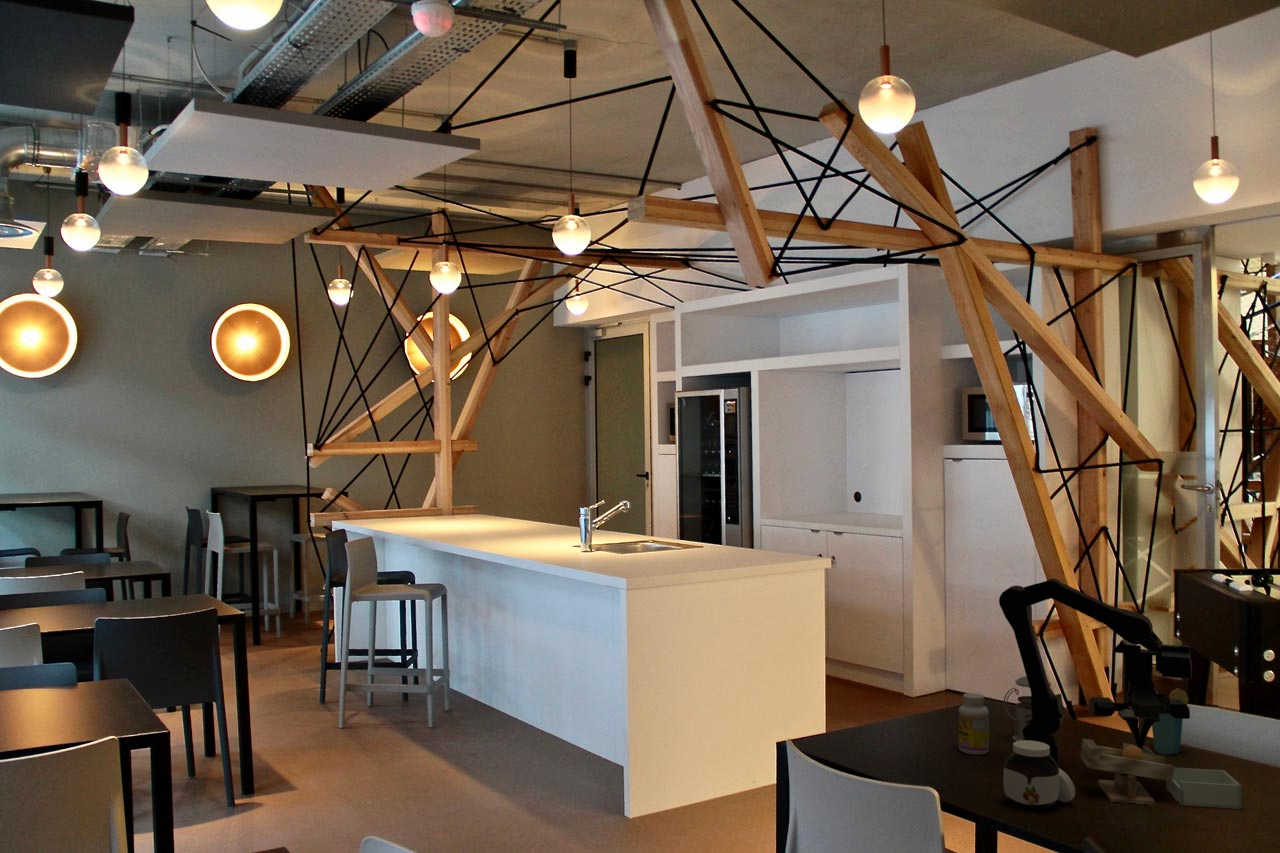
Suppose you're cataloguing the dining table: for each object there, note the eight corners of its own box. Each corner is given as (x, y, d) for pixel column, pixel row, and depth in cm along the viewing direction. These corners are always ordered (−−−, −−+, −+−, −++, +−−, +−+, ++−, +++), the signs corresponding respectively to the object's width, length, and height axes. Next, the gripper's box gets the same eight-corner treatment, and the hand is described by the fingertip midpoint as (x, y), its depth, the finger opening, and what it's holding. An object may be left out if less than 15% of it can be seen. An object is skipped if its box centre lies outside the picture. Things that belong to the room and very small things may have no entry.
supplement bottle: (954, 747, 253) (954, 692, 253) (981, 746, 254) (981, 691, 254) (965, 755, 246) (965, 699, 247) (993, 755, 247) (993, 698, 247)
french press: (1061, 746, 254) (1061, 639, 254) (1011, 746, 254) (1011, 639, 254) (1046, 734, 264) (1046, 631, 264) (998, 734, 264) (998, 631, 264)
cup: (1162, 761, 243) (1161, 693, 243) (1130, 752, 249) (1130, 687, 249) (1198, 751, 250) (1198, 686, 250) (1166, 743, 257) (1166, 679, 257)
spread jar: (998, 803, 214) (998, 744, 215) (1020, 789, 223) (1020, 732, 223) (1060, 817, 207) (1060, 756, 207) (1080, 802, 215) (1080, 743, 216)
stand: (1111, 802, 215) (1111, 777, 215) (1098, 783, 227) (1098, 759, 227) (1154, 805, 214) (1154, 779, 214) (1139, 785, 225) (1139, 761, 225)
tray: (1180, 805, 214) (1180, 782, 214) (1166, 788, 223) (1166, 767, 224) (1241, 809, 212) (1241, 785, 212) (1224, 792, 221) (1224, 770, 221)
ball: (1137, 744, 218) (1150, 760, 218) (1132, 739, 222) (1145, 755, 222) (1120, 755, 219) (1133, 772, 218) (1115, 750, 223) (1128, 766, 222)
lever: (1087, 767, 218) (1089, 747, 218) (1070, 744, 235) (1072, 725, 235) (1172, 781, 215) (1174, 761, 215) (1149, 756, 232) (1151, 738, 232)
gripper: (1099, 681, 224) (1101, 757, 224) (1197, 684, 221) (1198, 761, 220) (1088, 670, 235) (1089, 742, 235) (1181, 672, 232) (1182, 746, 231)
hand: (1139, 748), depth 230 cm, fingers closed, pressing on lever
